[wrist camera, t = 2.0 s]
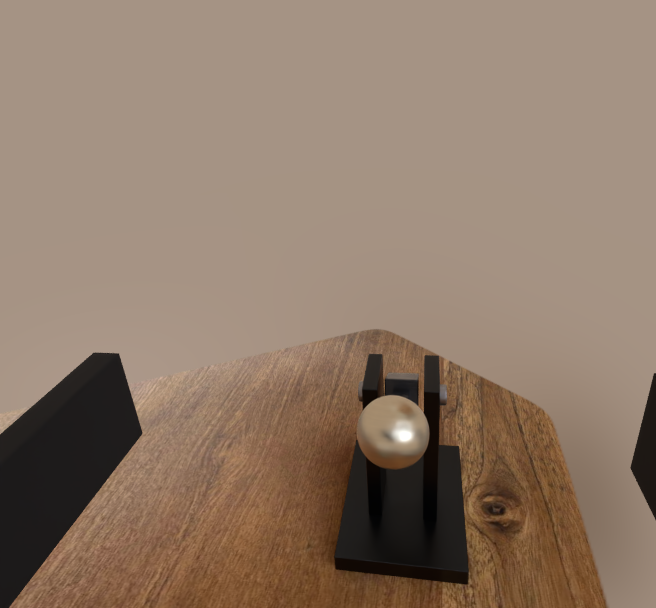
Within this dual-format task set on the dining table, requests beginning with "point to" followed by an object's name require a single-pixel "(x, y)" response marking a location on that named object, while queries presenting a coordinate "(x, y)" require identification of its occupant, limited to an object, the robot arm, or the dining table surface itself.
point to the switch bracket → (406, 501)
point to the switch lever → (394, 424)
